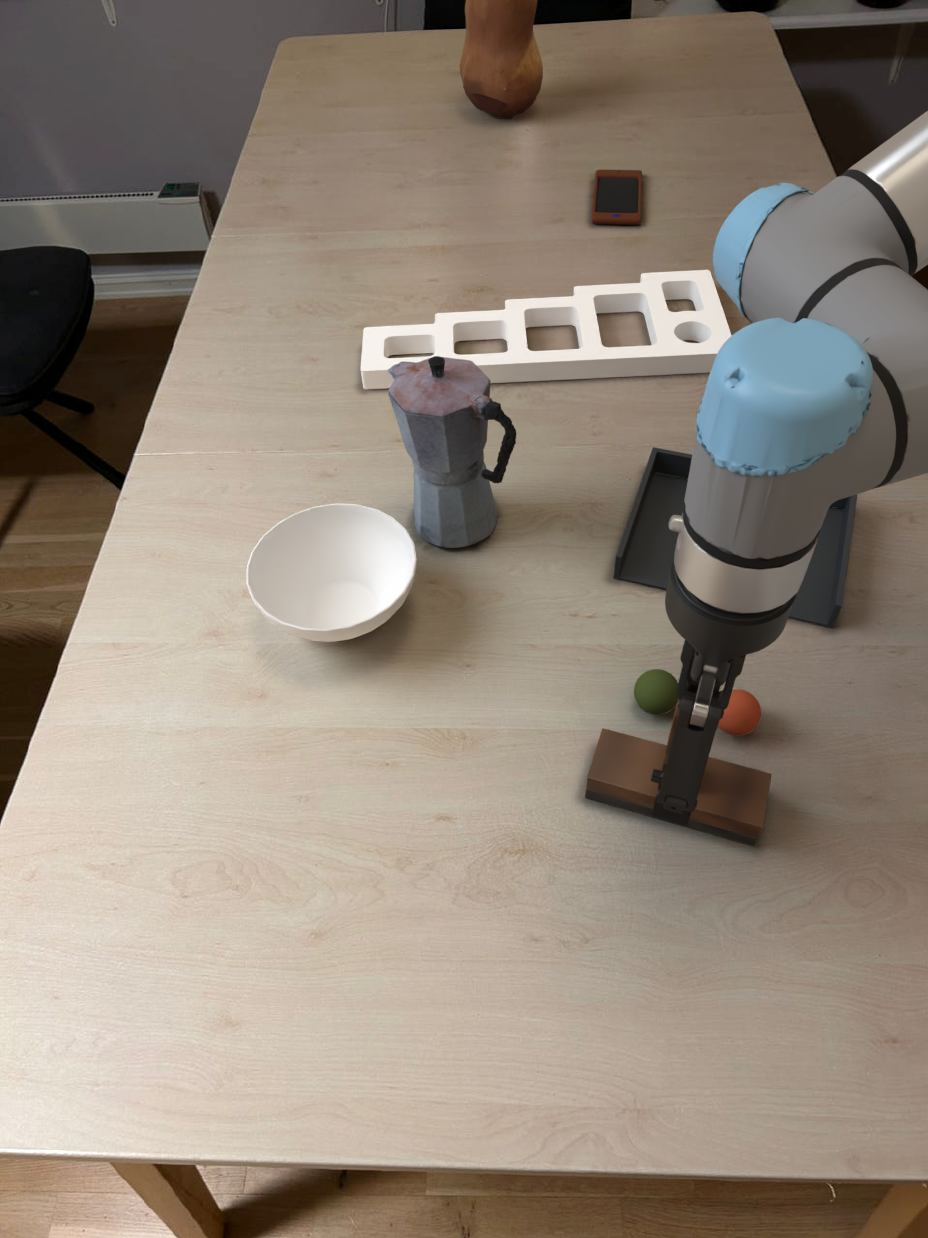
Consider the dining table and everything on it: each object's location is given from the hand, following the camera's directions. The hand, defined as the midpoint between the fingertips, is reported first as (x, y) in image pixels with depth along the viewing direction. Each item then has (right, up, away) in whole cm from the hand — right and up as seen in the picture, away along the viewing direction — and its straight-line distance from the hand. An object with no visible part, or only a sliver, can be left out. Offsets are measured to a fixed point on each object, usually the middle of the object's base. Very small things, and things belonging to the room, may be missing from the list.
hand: (683, 759), depth 73 cm
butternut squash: (-11, +98, +87) cm, 131 cm away
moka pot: (-18, +21, +26) cm, 38 cm away
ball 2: (+6, +3, +7) cm, 10 cm away
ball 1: (0, +5, +9) cm, 10 cm away
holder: (-7, +47, +46) cm, 66 cm away
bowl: (-29, +12, +19) cm, 37 cm away
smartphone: (+6, +74, +66) cm, 99 cm away
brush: (0, -4, +5) cm, 6 cm away
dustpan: (+12, +23, +25) cm, 36 cm away
